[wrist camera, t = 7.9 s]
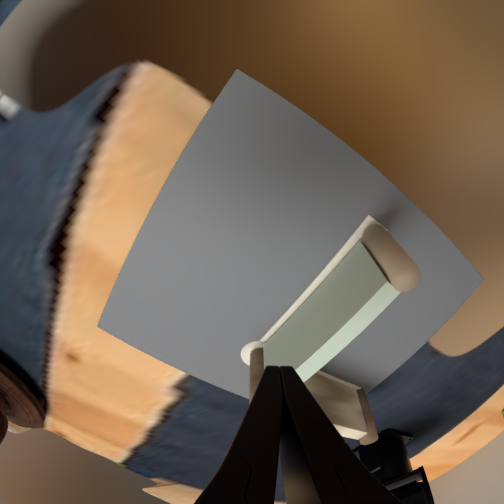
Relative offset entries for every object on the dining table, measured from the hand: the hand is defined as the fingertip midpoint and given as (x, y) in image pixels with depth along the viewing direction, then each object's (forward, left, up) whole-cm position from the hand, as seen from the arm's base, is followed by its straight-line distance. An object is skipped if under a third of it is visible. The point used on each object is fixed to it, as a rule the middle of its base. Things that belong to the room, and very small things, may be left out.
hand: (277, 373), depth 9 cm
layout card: (-5, +3, -11) cm, 12 cm away
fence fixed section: (-11, +8, -10) cm, 17 cm away
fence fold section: (-5, +1, -10) cm, 11 cm away
